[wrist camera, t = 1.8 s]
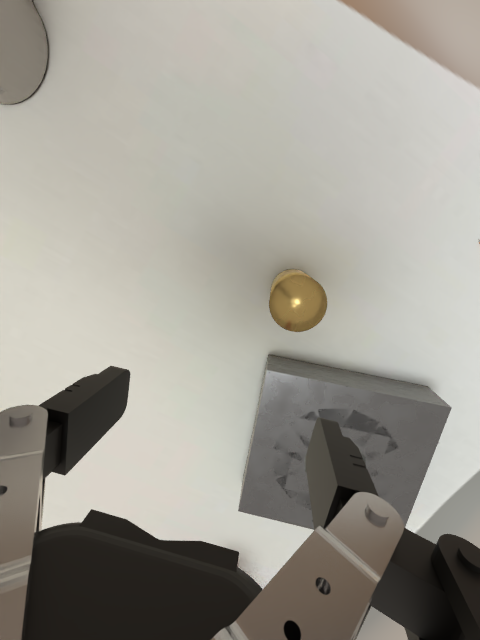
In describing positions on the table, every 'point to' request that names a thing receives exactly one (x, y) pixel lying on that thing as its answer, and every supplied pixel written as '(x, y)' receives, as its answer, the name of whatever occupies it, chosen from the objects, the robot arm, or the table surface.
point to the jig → (355, 423)
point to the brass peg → (297, 301)
